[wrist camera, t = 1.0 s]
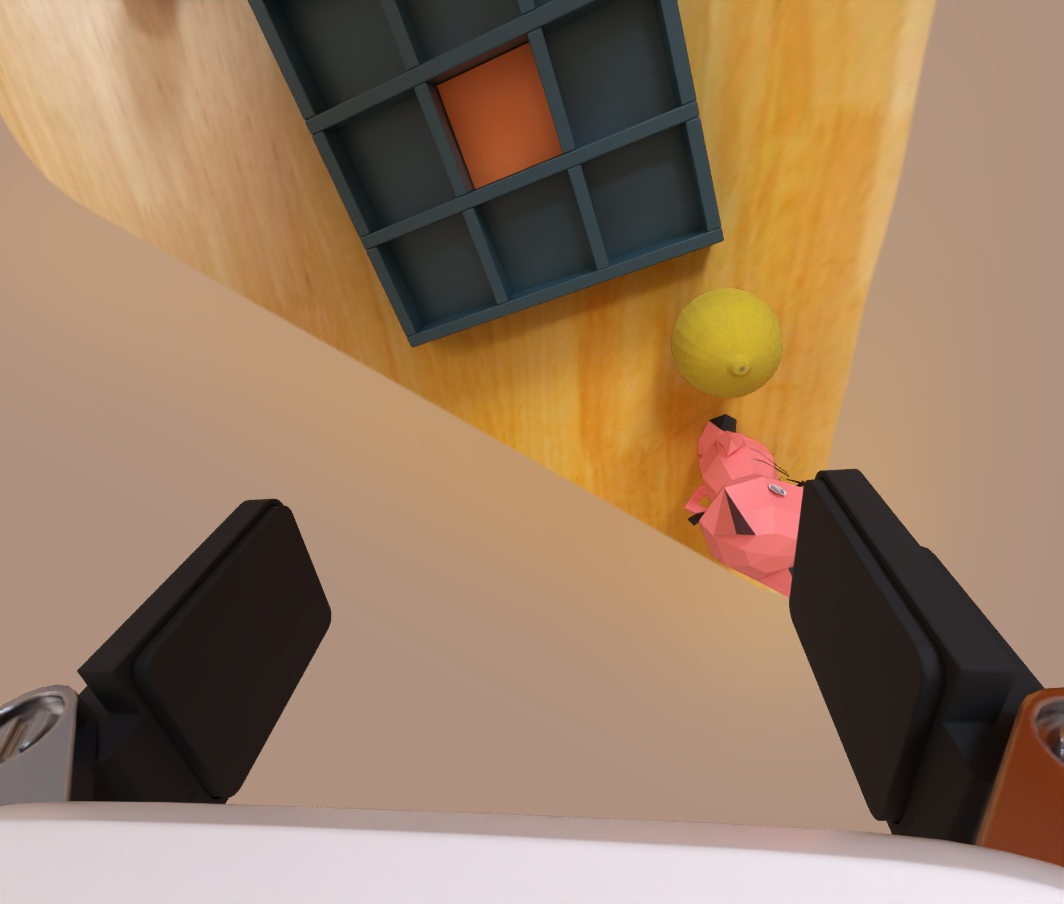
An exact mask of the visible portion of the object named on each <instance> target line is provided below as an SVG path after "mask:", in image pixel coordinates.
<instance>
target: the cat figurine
mask: <svg viewBox="0 0 1064 904" xmlns="http://www.w3.org/2000/svg"><path fill="white" fill-rule="evenodd" d="M697 454H698V455H700V456H702V457H701V458H700V459H699V460H698V462H699V466H700V469H701V473H702V477H703V480H704V484H703V485H702V486H701V487H699V488H698V489H697V490H696V491H695V492H694V493H693V495H692V496H691V498H690V499H689V501H688V502H687V504H686V505H685V507H684V508H685V509H686V510H687V511H688V512H689V513H690V514H692V515H693V516H691V517H690V518H688V520H689V521H690V522H691V523H692V524H693V525H696V524H697V523H699V522H700V525H701V527H702V530H703V533H704V535H705V538H706V541H707V544H708V546H709V549H710V552H711V554H712V556H713V557H715V558H716V559H717V560H719V561H720V562H722V563H723V564H725V565H726V566H728V567H730V568H732V569H734V570H736V571H738V572H740V573H742V574H744V575H747V576H749V577H751V578H753V579H755V580H757V581H759V582H761V583H763V584H765V585H766V586H768V587H770V588H772V589H774V590H776V591H778V592H780V593H782V594H783V595H785V596H787V597H790V590H791V582H792V574H793V566H794V558H795V550H796V542H797V535H798V527H799V519H800V511H801V503H802V495H803V488H801V486H804V484H805V482H804V481H802V482H799V481H794V480H790V479H787V480H790V481H793V482H796V483H799V484H798V485H796V486H795V485H792V484H789V483H785V482H782V481H781V480H780V479H778V475H777V470H778V469H777V468H776V466H777V465H776V464H775V462H774V458H773V456H772V455H771V454H770V452H769V451H768V450H767V449H766V447H765V446H764V445H763V444H762V443H760V442H758V441H755V440H753V439H751V438H749V437H747V436H745V435H743V434H741V433H736V420H735V419H734V418H732V417H730V416H728V415H726V414H725V415H722V416H719V417H717V418H714V419H712V420H709V421H708V423H707V425H706V427H705V429H704V431H703V433H702V435H701V437H700V439H699V441H698V453H697ZM775 465H776V466H775ZM778 467H779V466H778ZM779 468H780V467H779ZM776 469H777V470H776ZM780 469H781V468H780ZM782 470H783V469H782ZM778 471H780V470H778ZM783 471H784V470H783ZM780 472H782V471H780ZM784 472H785V471H784ZM782 473H783V472H782ZM786 473H787V472H786ZM783 474H785V473H783ZM785 475H787V474H785ZM787 476H788V475H787ZM788 477H789V476H788ZM781 478H782V477H781ZM707 494H708V496H709V499H710V500H711V501H712V503H711V504H710V506H709V507H708V508H706V507H704V506H702V505H700V504H698V503H699V502H700V500H701V499H702V498H703V497H704V496H706V495H707Z"/></svg>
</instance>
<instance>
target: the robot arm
mask: <svg viewBox="0 0 1064 904" xmlns="http://www.w3.org/2000/svg"><path fill="white" fill-rule="evenodd" d="M789 608H790V614H791V619H792V622H793V624H794V627H795V629H796V632H797V634H798V636H799V639H800V641H801V644H802V646H803V649H804V651H805V653H806V656H807V658H808V661H809V663H810V666H811V668H812V671H813V673H814V676H815V678H816V681H817V683H818V686H819V688H820V690H821V693H822V695H823V698H824V700H825V703H826V705H827V708H828V710H829V712H830V715H831V717H832V720H833V722H834V725H835V727H836V730H837V732H838V734H839V737H840V739H841V742H842V744H843V747H844V749H845V752H846V754H847V757H848V759H849V761H850V764H851V766H852V769H853V771H854V774H855V776H856V779H857V781H858V783H859V786H860V788H861V791H862V793H863V796H864V798H865V800H866V803H867V805H868V808H869V809H870V812H871V814H872V815H873V816H874V818H875V819H876V820H878V821H887V823H888V826H889V828H890V830H891V832H892V834H882V833H873V832H860V831H843V830H827V829H810V828H794V827H777V826H776V827H775V826H761V825H744V824H725V823H703V822H702V823H701V822H679V821H657V820H656V821H655V820H632V819H610V818H587V817H564V816H541V815H516V814H489V813H464V812H437V811H410V810H382V809H355V808H329V807H328V808H327V807H298V806H265V805H234V804H226V802H227V800H228V798H229V797H232V796H234V795H235V794H236V793H237V792H238V791H239V789H240V788H241V786H242V785H243V783H244V781H245V779H246V777H247V775H248V774H249V772H250V770H251V768H252V766H253V765H254V763H255V761H256V759H257V757H258V755H259V754H260V752H261V750H262V748H263V746H264V745H265V743H266V741H267V739H268V737H269V735H270V734H271V732H272V730H273V728H274V726H275V725H276V723H277V721H278V719H279V717H280V715H281V714H282V712H283V710H284V708H285V706H286V705H287V703H288V701H289V699H290V697H291V695H292V694H293V692H294V690H295V688H296V686H297V684H298V683H299V681H300V679H301V677H302V676H303V673H304V672H305V670H306V668H307V667H308V665H309V662H310V661H311V659H312V657H313V656H314V654H315V652H316V650H317V648H318V647H319V645H320V642H321V641H322V639H323V637H324V636H325V634H326V632H327V630H328V628H329V626H330V622H331V609H330V606H329V604H328V601H327V599H326V596H325V593H324V591H323V588H322V586H321V583H320V581H319V578H318V576H317V573H316V571H315V568H314V566H313V563H312V561H311V558H310V556H309V553H308V551H307V549H306V546H305V544H304V541H303V538H302V536H301V533H300V531H299V528H298V526H297V524H296V521H295V518H294V516H293V513H292V511H291V510H290V508H288V507H287V506H284V505H283V504H282V503H281V502H280V501H279V500H277V499H262V500H247V501H244V502H243V503H241V504H240V505H239V507H237V508H236V509H235V510H234V512H232V514H230V516H229V517H228V518H227V519H226V520H225V521H224V522H223V523H222V524H221V525H220V526H219V527H218V528H217V529H216V530H215V531H214V532H213V533H212V534H211V535H210V536H209V537H208V538H207V539H206V540H205V541H204V542H203V543H202V544H201V545H200V546H199V547H198V548H197V549H196V550H195V551H194V552H193V553H192V554H191V555H190V556H189V557H188V558H187V559H186V561H184V562H183V563H182V564H181V565H180V566H179V568H178V569H177V570H175V572H174V573H173V574H172V575H171V576H170V577H169V578H168V579H167V580H166V581H165V582H164V583H163V584H162V585H161V586H160V587H159V588H158V589H157V590H156V591H155V592H154V593H153V594H152V595H151V596H150V597H149V598H148V599H147V600H146V601H145V602H144V603H143V604H142V605H141V606H140V607H139V608H138V609H137V610H136V611H135V612H134V613H133V614H132V615H131V616H130V618H128V619H127V620H126V621H125V622H124V623H123V624H122V626H121V627H120V628H119V629H118V630H117V631H116V632H115V633H114V634H113V635H112V636H111V637H110V638H109V639H108V640H107V641H106V642H105V643H104V644H103V645H102V646H101V647H100V648H99V649H98V650H97V651H96V652H95V653H94V654H93V655H92V656H91V657H90V658H89V659H88V660H87V661H86V662H85V663H84V664H83V665H82V666H81V667H80V668H79V669H78V670H77V672H78V673H79V674H80V676H81V677H82V678H83V680H84V681H85V683H86V684H87V685H88V686H87V687H86V688H85V689H84V690H83V691H82V692H81V693H80V694H79V695H78V694H77V693H76V691H75V690H73V689H72V688H70V687H69V686H63V685H53V686H47V687H42V688H39V689H36V690H33V691H30V692H28V693H25V694H23V695H21V696H19V697H17V698H15V699H13V700H11V701H9V702H7V703H5V704H4V705H2V706H1V707H0V904H1064V688H1048V689H1045V688H1044V687H1043V686H1042V685H1041V684H1040V682H1039V681H1038V680H1037V679H1036V677H1035V676H1034V675H1033V674H1032V673H1031V671H1030V670H1029V669H1028V668H1027V666H1026V665H1025V664H1024V663H1023V662H1022V660H1021V659H1020V658H1019V657H1018V655H1017V654H1016V653H1015V652H1014V651H1013V649H1012V648H1011V647H1010V646H1009V644H1008V643H1007V642H1006V641H1005V640H1004V638H1003V637H1002V636H1001V635H1000V633H999V632H998V631H997V630H996V629H995V627H994V626H993V625H992V624H991V623H990V621H989V620H988V619H987V618H986V616H985V615H984V614H983V613H982V611H981V610H980V609H979V608H978V607H977V605H976V604H975V603H974V602H973V601H972V599H971V598H970V597H969V596H968V594H967V593H966V592H965V591H964V590H963V588H962V587H961V586H960V585H959V583H958V582H957V581H956V580H955V579H954V577H953V576H952V575H951V574H950V572H949V571H948V570H947V569H946V568H945V566H944V565H943V564H942V563H941V561H940V560H939V559H938V558H937V557H936V555H935V554H933V553H932V552H931V551H930V550H929V549H928V548H925V547H922V546H920V545H919V544H918V543H917V541H916V540H915V539H914V538H913V537H912V535H911V534H910V533H909V531H908V530H907V529H906V528H905V526H904V525H903V524H902V523H901V522H900V520H899V519H898V518H897V516H896V515H895V514H894V513H893V512H892V510H891V509H890V508H889V506H888V505H887V504H886V503H885V502H884V500H883V499H882V498H881V496H880V495H879V494H878V493H877V491H876V490H875V489H874V488H873V486H872V485H871V484H870V483H869V481H868V480H867V479H866V478H865V477H864V475H863V474H862V473H861V472H860V471H859V470H858V469H845V470H825V471H819V472H818V473H817V475H816V477H815V480H807V481H806V482H805V484H804V488H803V495H802V503H801V511H800V519H799V527H798V535H797V542H796V550H795V558H794V566H793V574H792V582H791V590H790V597H789Z"/></svg>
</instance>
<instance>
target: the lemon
mask: <svg viewBox="0 0 1064 904" xmlns="http://www.w3.org/2000/svg"><path fill="white" fill-rule="evenodd" d="M671 351H672V355H673V359H674V363H675V365H676V367H677V368H678V370H679V372H680V374H681V376H682V377H683V378H684V379H685V380H686V381H687V382H688V383H689V384H690V385H691V386H692V387H694V388H695V389H697V390H699V391H701V392H702V393H704V394H706V395H709V396H713V397H717V398H737V397H742V396H745V395H747V394H750V393H752V392H754V391H756V390H757V389H759V388H760V387H762V386H763V385H764V384H765V383H766V382H767V381H768V380H769V379H770V378H771V377H772V376H773V374H774V372H775V370H776V369H777V367H778V365H779V363H780V359H781V356H782V352H783V336H782V332H781V328H780V325H779V321H778V319H777V317H776V316H775V314H774V313H773V311H772V309H771V308H770V307H769V305H767V304H766V303H765V302H764V301H763V300H761V299H760V298H759V297H758V296H756V295H754V294H752V293H749V292H747V291H745V290H742V289H735V288H720V289H714V290H711V291H708V292H705V293H703V294H701V295H699V296H698V297H696V298H695V299H693V300H692V301H691V302H690V303H689V304H688V305H687V306H686V307H685V308H684V309H683V310H682V311H681V313H680V315H679V316H678V318H677V320H676V322H675V325H674V328H673V331H672V336H671Z"/></svg>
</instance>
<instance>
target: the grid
mask: <svg viewBox="0 0 1064 904" xmlns="http://www.w3.org/2000/svg"><path fill="white" fill-rule="evenodd" d="M248 2H249V4H250V6H251V8H252V10H253V12H254V14H255V16H256V19H257V21H258V23H259V25H260V27H261V29H262V31H263V33H264V36H265V38H266V40H267V42H268V44H269V46H270V48H271V50H272V53H273V55H274V57H275V59H276V61H277V63H278V65H279V67H280V69H281V72H282V74H283V76H284V78H285V80H286V82H287V84H288V86H289V89H290V91H291V93H292V95H293V97H294V99H295V101H296V103H297V106H298V108H299V110H300V112H301V114H302V116H303V118H304V120H306V121H305V123H306V125H307V127H308V129H309V131H310V133H311V135H313V136H312V138H313V140H314V142H315V144H316V146H317V148H318V150H319V152H320V154H321V157H322V159H323V161H324V163H325V165H326V167H327V169H328V171H329V174H330V176H331V178H332V180H333V182H334V184H335V186H336V188H337V191H338V193H339V195H340V197H341V199H342V201H343V203H344V205H345V207H346V210H347V212H348V214H349V216H350V218H351V220H352V222H353V224H354V227H355V229H356V231H357V233H358V235H359V237H361V238H360V239H361V241H362V243H363V245H364V248H365V249H366V250H367V251H366V252H367V254H368V256H369V258H370V260H371V262H372V265H373V267H374V269H375V271H376V273H377V275H378V277H379V279H380V281H381V284H382V286H383V288H384V290H385V292H386V294H387V296H388V298H389V301H390V303H391V305H392V307H393V309H394V311H395V313H396V315H397V318H398V320H399V322H400V324H401V326H402V328H403V330H404V332H405V334H406V336H407V339H408V341H409V343H410V345H411V347H416V346H418V345H421V344H424V343H427V342H430V341H433V340H436V339H439V338H442V337H445V336H448V335H451V334H453V333H456V332H459V331H462V330H465V329H468V328H471V327H474V326H477V325H480V324H483V323H486V322H488V321H491V320H494V319H497V318H500V317H503V316H506V315H509V314H512V313H515V312H518V311H521V310H523V309H526V308H529V307H532V306H535V305H538V304H541V303H544V302H547V301H550V300H553V299H556V298H559V297H561V296H564V295H567V294H570V293H573V292H576V291H579V290H582V289H585V288H588V287H591V286H594V285H596V284H599V283H602V282H605V281H608V280H611V279H614V278H617V277H620V276H623V275H626V274H629V273H631V272H634V271H637V270H640V269H643V268H646V267H649V266H652V265H655V264H658V263H661V262H664V261H666V260H669V259H672V258H675V257H678V256H681V255H684V254H687V253H690V252H693V251H696V250H699V249H702V248H704V247H707V246H710V245H713V244H716V243H719V242H722V241H723V240H724V238H723V233H722V228H721V222H720V217H719V212H718V207H717V202H716V197H715V192H714V187H713V182H712V176H711V171H710V166H709V161H708V156H707V151H706V146H705V141H704V136H703V130H702V125H701V120H700V117H698V116H699V110H698V105H697V101H695V100H696V94H695V89H694V84H693V79H692V74H691V69H690V64H689V59H688V54H687V48H686V43H685V38H684V33H683V28H682V23H681V18H680V13H679V8H678V2H677V0H248Z"/></svg>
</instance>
